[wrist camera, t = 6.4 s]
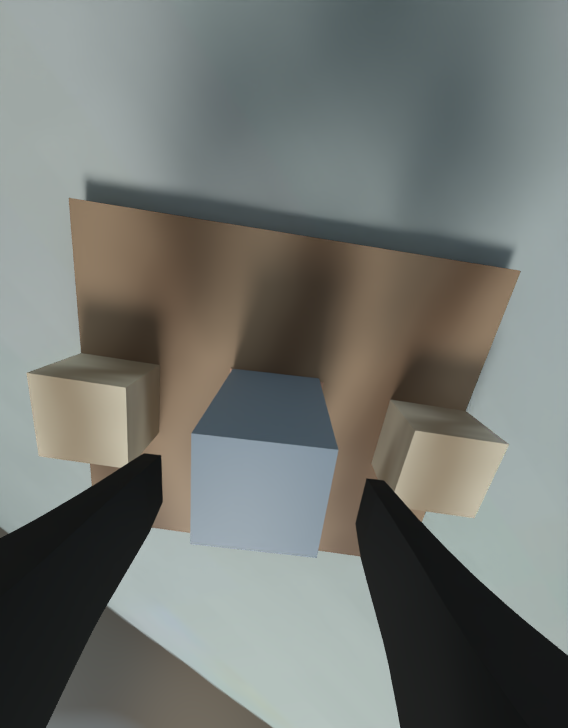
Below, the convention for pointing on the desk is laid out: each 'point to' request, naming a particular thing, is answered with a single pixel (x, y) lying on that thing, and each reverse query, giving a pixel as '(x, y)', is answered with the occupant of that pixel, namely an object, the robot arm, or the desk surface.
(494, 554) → the desk surface
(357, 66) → the desk surface
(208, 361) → the wooden board
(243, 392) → the slate block
